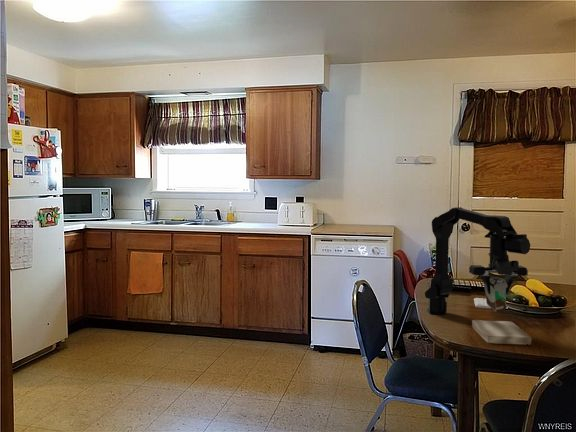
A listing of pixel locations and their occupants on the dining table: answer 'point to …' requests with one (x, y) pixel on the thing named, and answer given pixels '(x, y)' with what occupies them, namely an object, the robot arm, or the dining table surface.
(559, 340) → the dining table surface
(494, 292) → the food container
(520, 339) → the pale grey slab
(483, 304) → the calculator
